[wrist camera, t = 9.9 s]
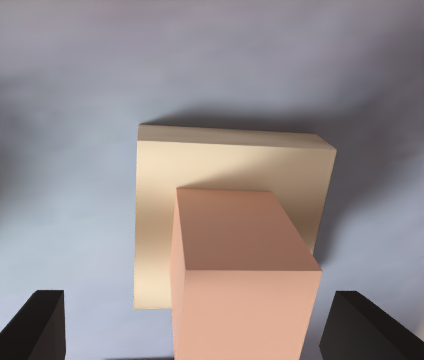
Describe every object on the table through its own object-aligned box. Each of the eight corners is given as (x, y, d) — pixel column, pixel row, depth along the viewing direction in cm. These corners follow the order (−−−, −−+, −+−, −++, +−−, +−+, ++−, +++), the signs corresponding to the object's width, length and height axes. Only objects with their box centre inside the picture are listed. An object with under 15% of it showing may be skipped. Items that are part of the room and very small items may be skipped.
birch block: (283, 271, 24) (300, 305, 21) (135, 273, 23) (133, 309, 20) (312, 131, 21) (336, 149, 18) (139, 121, 19) (137, 140, 16)
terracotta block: (257, 270, 20) (296, 370, 15) (169, 270, 19) (175, 374, 14) (272, 191, 18) (322, 271, 13) (176, 187, 17) (185, 270, 12)
